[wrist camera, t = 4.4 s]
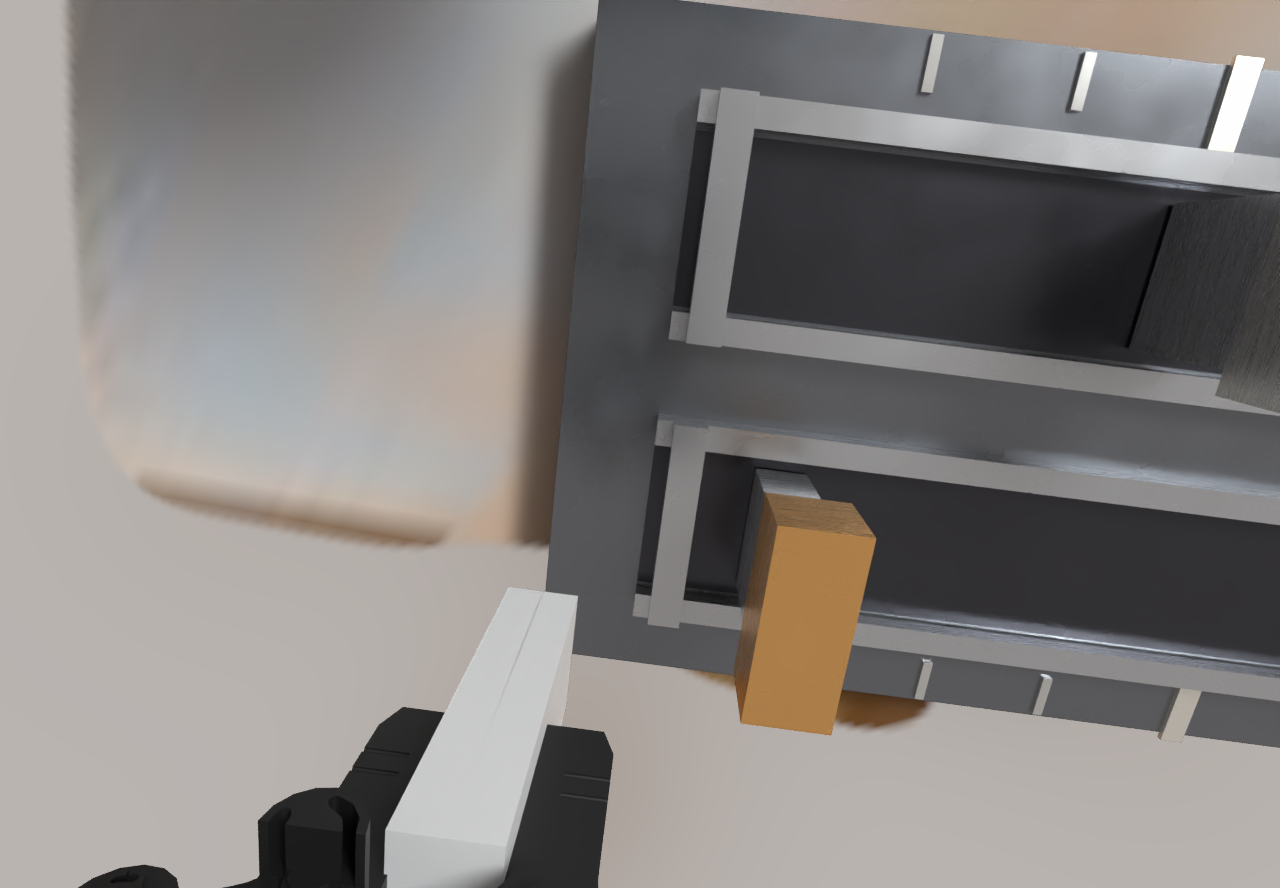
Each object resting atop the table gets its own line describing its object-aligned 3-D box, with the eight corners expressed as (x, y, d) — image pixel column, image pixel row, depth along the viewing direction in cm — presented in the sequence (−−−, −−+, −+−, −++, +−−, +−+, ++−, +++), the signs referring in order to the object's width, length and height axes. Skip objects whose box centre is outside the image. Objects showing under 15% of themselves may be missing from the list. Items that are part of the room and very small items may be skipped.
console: (549, 624, 26) (533, 675, 23) (607, 7, 20) (595, -36, 17) (1360, 731, 25) (1455, 798, 22) (1648, 131, 20) (1826, 109, 17)
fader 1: (723, 599, 23) (740, 723, 17) (749, 448, 21) (777, 525, 15) (790, 608, 23) (831, 735, 17) (820, 457, 21) (876, 538, 15)
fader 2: (1112, 368, 20) (1295, 417, 14) (1170, 178, 19) (1401, 145, 13) (1187, 377, 20) (1403, 430, 14) (1252, 188, 19) (1521, 159, 13)
